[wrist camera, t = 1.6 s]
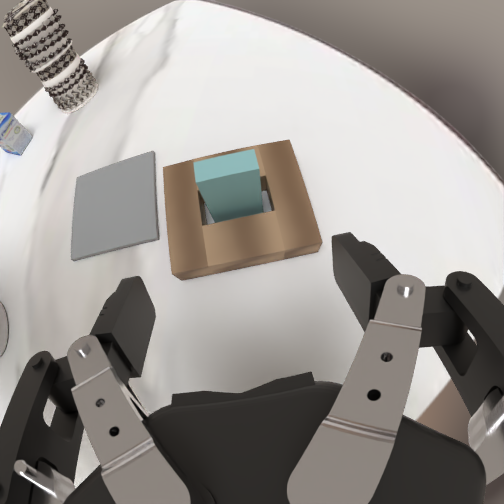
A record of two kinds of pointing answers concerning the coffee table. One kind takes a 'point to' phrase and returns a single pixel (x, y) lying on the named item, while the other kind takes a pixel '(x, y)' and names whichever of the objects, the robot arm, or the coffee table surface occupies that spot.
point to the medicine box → (13, 134)
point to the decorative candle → (50, 54)
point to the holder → (240, 229)
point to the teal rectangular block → (230, 185)
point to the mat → (115, 207)
